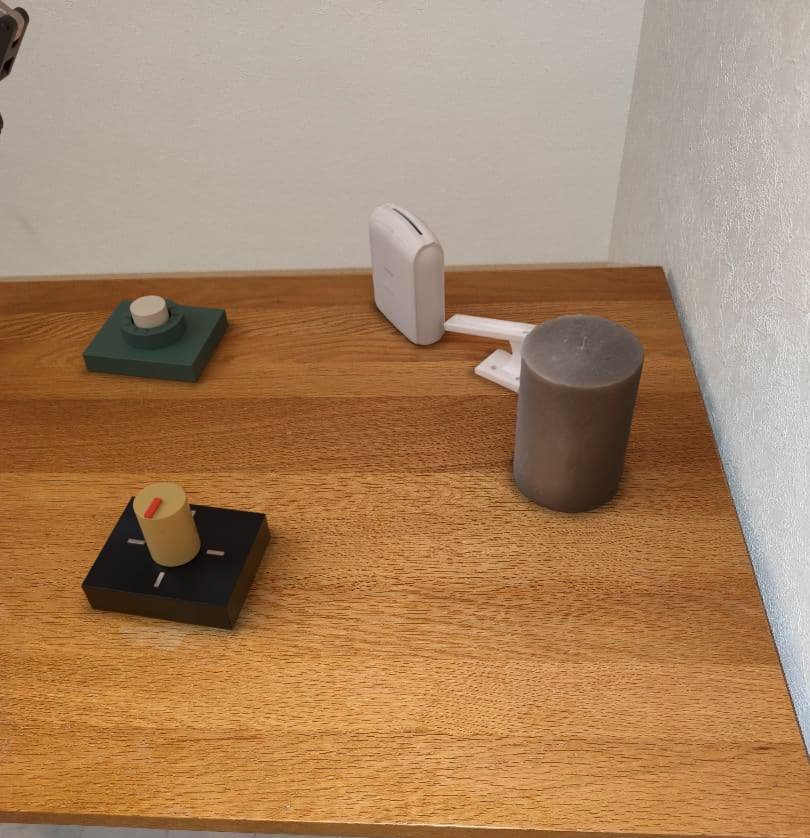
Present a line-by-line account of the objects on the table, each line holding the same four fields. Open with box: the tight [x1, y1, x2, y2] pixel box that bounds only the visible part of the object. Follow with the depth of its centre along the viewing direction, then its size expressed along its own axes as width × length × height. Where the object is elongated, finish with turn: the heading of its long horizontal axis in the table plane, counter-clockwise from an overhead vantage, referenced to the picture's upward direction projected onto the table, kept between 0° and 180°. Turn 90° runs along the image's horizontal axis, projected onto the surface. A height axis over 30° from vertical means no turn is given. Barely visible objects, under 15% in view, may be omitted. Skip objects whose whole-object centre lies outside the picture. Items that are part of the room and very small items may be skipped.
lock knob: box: [133, 481, 201, 567], centre depth 70 cm, size 4×4×6 cm
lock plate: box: [80, 496, 271, 631], centre depth 73 cm, size 12×10×3 cm
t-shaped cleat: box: [444, 313, 537, 394], centre depth 87 cm, size 4×20×5 cm, turn 51°
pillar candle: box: [512, 313, 645, 513], centre depth 75 cm, size 10×10×15 cm
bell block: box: [81, 298, 229, 384], centre depth 94 cm, size 12×10×4 cm
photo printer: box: [368, 202, 446, 346], centre depth 92 cm, size 10×4×12 cm, turn 30°
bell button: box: [130, 295, 169, 329], centre depth 92 cm, size 4×4×2 cm
